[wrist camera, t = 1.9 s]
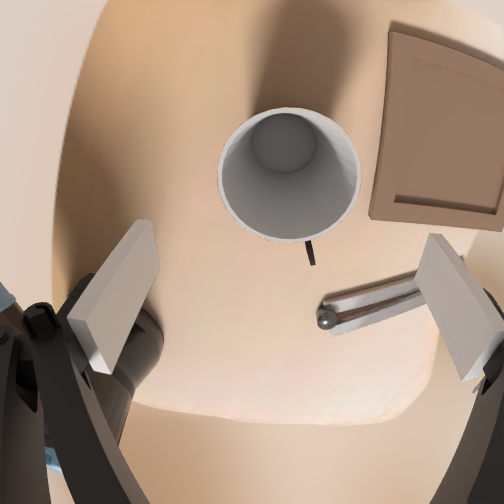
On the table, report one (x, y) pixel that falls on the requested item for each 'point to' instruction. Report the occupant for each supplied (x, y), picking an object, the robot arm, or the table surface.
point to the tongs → (367, 297)
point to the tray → (440, 138)
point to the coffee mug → (289, 175)
